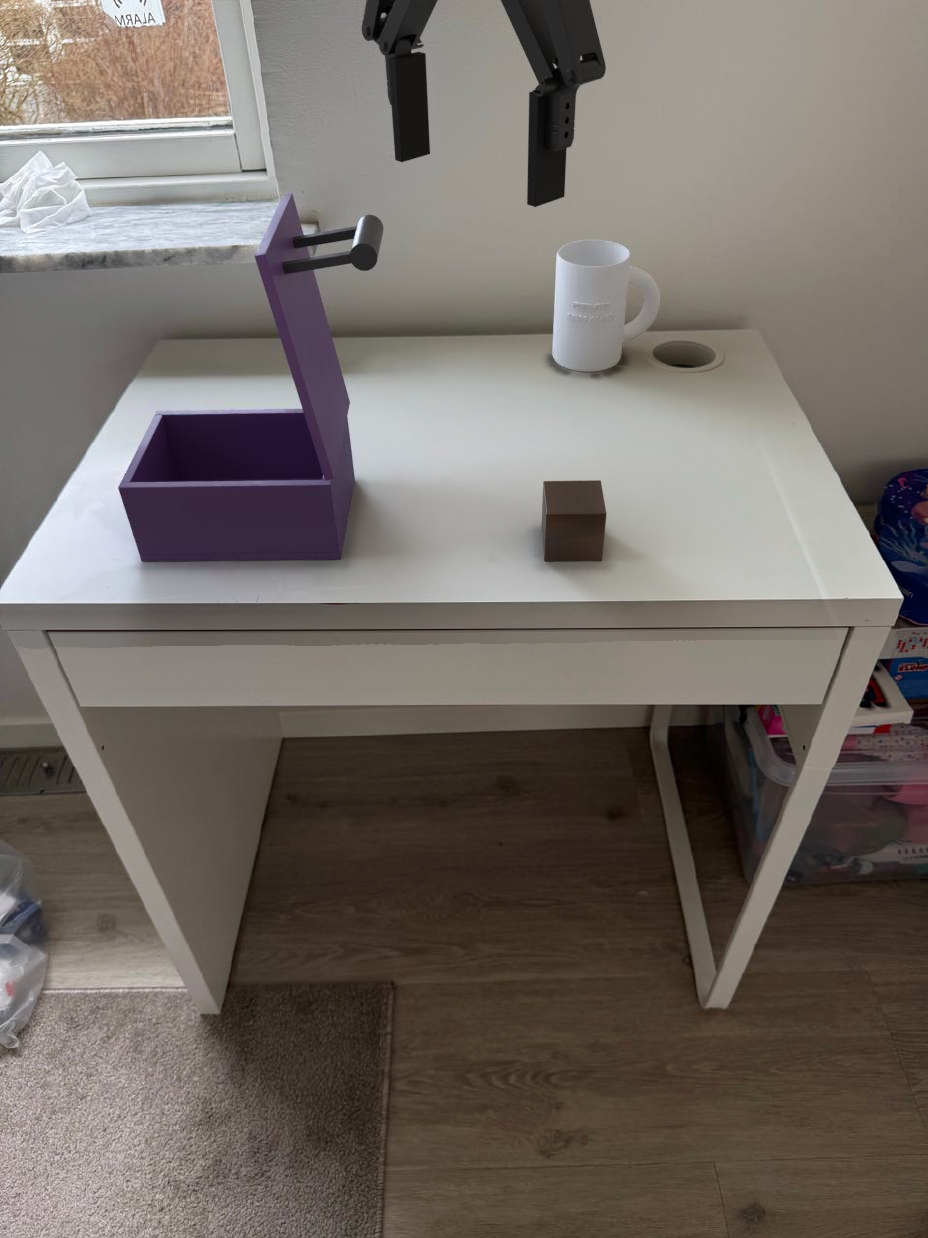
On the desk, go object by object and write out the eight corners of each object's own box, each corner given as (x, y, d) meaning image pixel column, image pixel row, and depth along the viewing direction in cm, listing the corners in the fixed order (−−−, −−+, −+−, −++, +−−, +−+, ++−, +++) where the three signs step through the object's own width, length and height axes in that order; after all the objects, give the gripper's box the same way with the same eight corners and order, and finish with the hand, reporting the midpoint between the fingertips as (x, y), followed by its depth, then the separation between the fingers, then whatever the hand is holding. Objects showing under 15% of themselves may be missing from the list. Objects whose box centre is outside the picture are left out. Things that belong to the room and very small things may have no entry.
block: (544, 561, 82) (546, 514, 78) (541, 527, 85) (543, 480, 82) (602, 561, 82) (606, 513, 78) (596, 526, 85) (600, 479, 82)
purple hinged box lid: (254, 255, 65) (364, 237, 64) (282, 194, 74) (379, 177, 73) (325, 480, 77) (418, 468, 76) (341, 403, 86) (425, 391, 86)
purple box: (141, 561, 83) (117, 487, 78) (175, 481, 92) (156, 410, 87) (340, 559, 83) (330, 484, 77) (355, 479, 92) (346, 407, 87)
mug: (661, 369, 107) (675, 264, 99) (557, 374, 107) (562, 269, 99) (647, 337, 113) (658, 235, 105) (548, 342, 113) (552, 240, 105)
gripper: (697, -245, 46) (650, 206, 60) (380, -233, 60) (403, 131, 74) (593, -242, 42) (569, 238, 57) (282, -230, 56) (325, 152, 71)
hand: (475, 178), depth 65 cm, fingers open, 13 cm apart
